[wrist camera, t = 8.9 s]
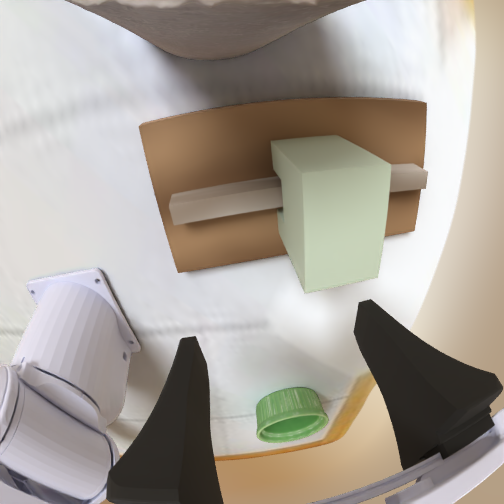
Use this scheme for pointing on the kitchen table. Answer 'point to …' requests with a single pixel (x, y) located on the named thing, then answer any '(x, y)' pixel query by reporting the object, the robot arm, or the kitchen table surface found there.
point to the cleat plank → (268, 169)
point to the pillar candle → (212, 22)
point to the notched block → (331, 209)
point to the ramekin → (289, 415)
